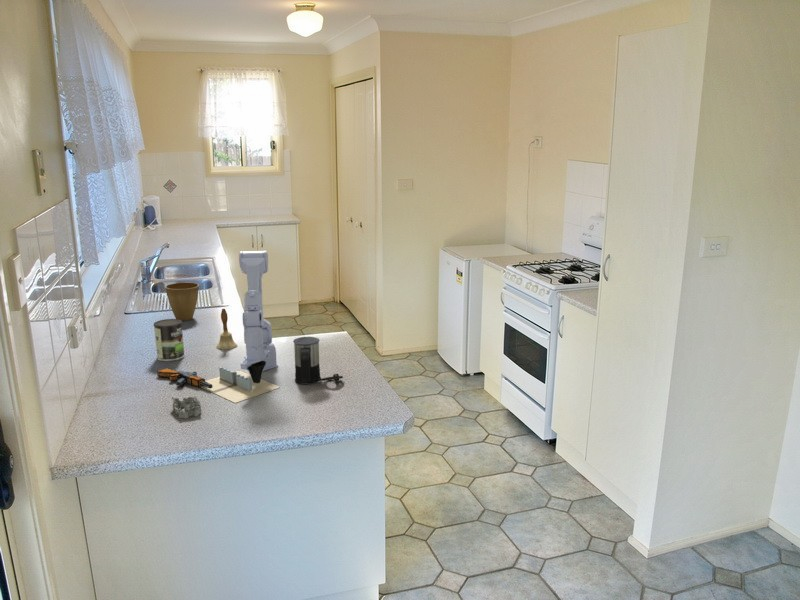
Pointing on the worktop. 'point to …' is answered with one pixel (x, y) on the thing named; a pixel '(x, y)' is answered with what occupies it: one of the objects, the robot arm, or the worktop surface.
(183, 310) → the plant pot
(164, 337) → the coffee can
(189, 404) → the grey rock
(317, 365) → the milk frother
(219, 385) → the card
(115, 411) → the worktop surface
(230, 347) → the hand bell
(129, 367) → the worktop surface
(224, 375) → the fence fixed panel
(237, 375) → the fence hinged panel
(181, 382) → the toy
